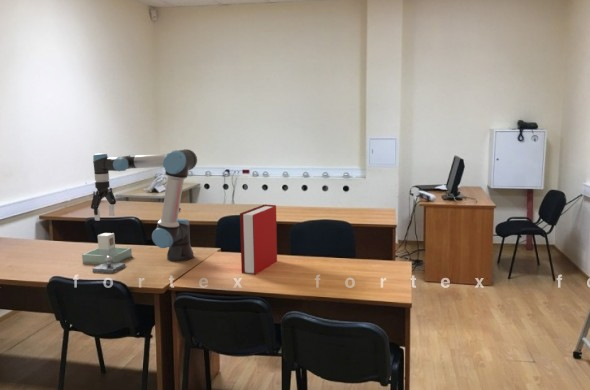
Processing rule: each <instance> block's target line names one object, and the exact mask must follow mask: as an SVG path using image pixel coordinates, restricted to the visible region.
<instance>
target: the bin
mask: <svg viewBox="0 0 590 390" xmlns="http://www.w3.org/2000/svg"><path fill="white" fill-rule="evenodd" d="M115 252H116V255H114V256H111V257H112V261H111V262H114V263H122V262H124V261H126V260H127V259H130V258H132V257H133V252H132V247H119V246H118V247H117V246H115ZM106 257H107V256H105V255H99V247H97V248H95V249H91V250H89V251H87V252H85V253H82V254H81V258H82V259H81V260H82V264H90V265H101V264H103V263H105V262H106V261H105V258H106Z"/></svg>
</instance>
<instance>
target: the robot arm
mask: <svg viewBox="0 0 590 390" xmlns="http://www.w3.org/2000/svg"><path fill="white" fill-rule="evenodd" d="M92 161H93V162H92V163H93V172H94V181H95V182H94V186H95V188H96V190H93V193H92V194H93V195H92V196H93V197H92V201H91V205H90V209H92V210H93V215H94V221H101V217H100V216H101V215H100V206H101V205H100V204H101V202H102V199H104V198H105V199H106V201H107V202H108V203H109V204H108V210H109V212H108V213H109V214H108V215H109V216H115V205H117V204H116V203H117V200H116V198H115V195H114V192H113V188H112V187H110V186H111V185H110V181H109V180H110V174H109V172H111V171H112V172H125V171H127V170H129V169H146V168H147V169H148V168H149V169H150V168H151V169H152V168H164V170H165V173H164V174H165V175H166V177H167V181H166V186H165V191H164V199H163V205H162V206H163V207H162V211H161V218H160V219H159V220H158V221H157V223H156V224H157V225H156V228H155V229H154V230H153V231H152V232H151V233H152V234H151V239H152V242H153V243H154V245H155V246H157V247H158V248H160V249H167V248H168V250H167V253H166V259H167V261H169V262H170V261H171V262H185V261H190V260H192V259H194V258H195V256H194V254H195V253H194V250H193V248H192V246H191V239H190V237H191V236H190V235H191V234H190V231H191V230H190V222H189V220H188V219H186V218H179V211H180V206H181V200H182V192H183V188H184V187H183V186H184V181H185V179H187V178H188V176H189V175H188V174H189V171H190V170H192V169H194V168H195V167H196V166H197V164H198V157H197V154H196V153H195V152H194V151H193V150H191V149H187V148H186V149H179V150H177V149H176V150H172V151H170V152H168V153H154V154H130V155H125V156H116V157H115V156H114V157H109V156H108V154H107V153H104V152H103V153H94V154H93V160H92Z"/></svg>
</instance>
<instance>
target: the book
mask: <svg viewBox="0 0 590 390" xmlns="http://www.w3.org/2000/svg"><path fill="white" fill-rule="evenodd" d="M239 224H240V225H239V226H240V232H239V233H240V234H239V235H240V256H241V257H240V259H241V260H240V261H241V274H243V273H249V274H253V275H255V276H256V275H258V274H259V273H261V272H262V271H265V270H266V269H267V268H269V267H271V266H273V265H274V264H276V263H277V262H278V248H277V247H278V243H277V242H278V239H277V238H278V237H277V234H278V233H277V227H278V226H277V205H276V204H262V205H258V206H256V207H254V208H251V209H248V210H245V211H243V212H242V211H241V212H240V213H239Z"/></svg>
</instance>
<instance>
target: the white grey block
mask: <svg viewBox="0 0 590 390" xmlns="http://www.w3.org/2000/svg"><path fill="white" fill-rule="evenodd" d="M115 238H116V237H115V233H114V232H112V233H111V232H103V233H100V234H98V235H97V244H98V245H97V246H98V247H97V248H99V255H105V256H114V255H116V252H115V247H116V242H115V240H116V239H115Z"/></svg>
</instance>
